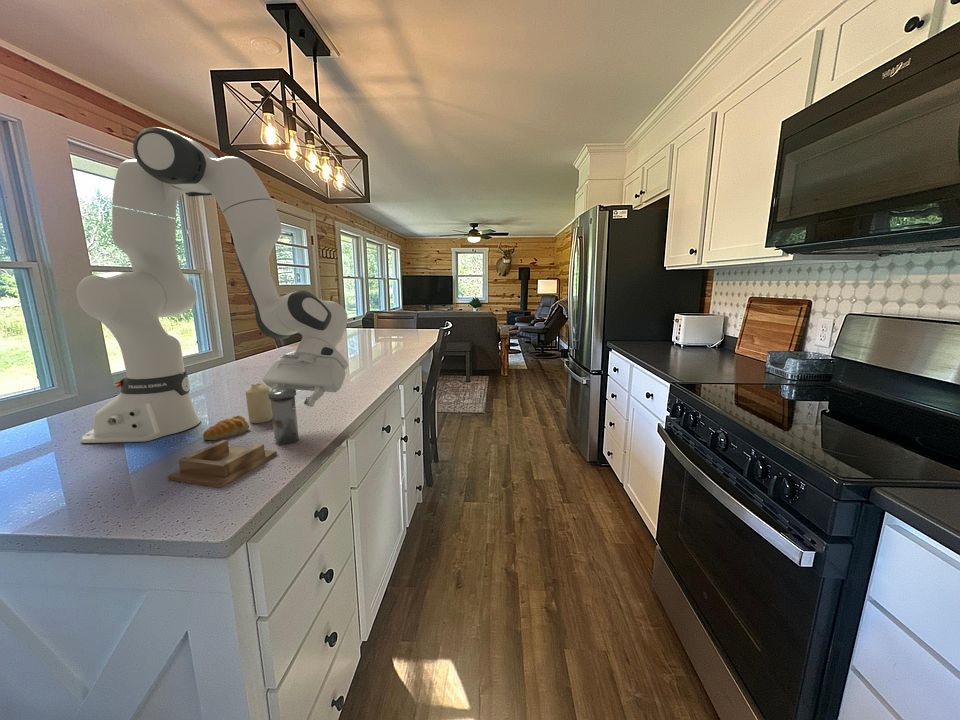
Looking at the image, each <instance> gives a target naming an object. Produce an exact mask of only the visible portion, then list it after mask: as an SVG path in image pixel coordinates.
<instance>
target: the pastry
mask: <svg viewBox="0 0 960 720" xmlns="http://www.w3.org/2000/svg"><path fill="white" fill-rule="evenodd" d="M249 429H250V425H249V423H248V421H246V419H245V417H244V416H242V415H237V416H232V417H231V418H226V419H222V420H219V421H218V422H217V423H216V424H214V425H212V426H210V427H209V428H207V429H206V430H205V431H204V432H203V434H202V435H203V436H202V438H203V440H206V441H207V440H208V441H219V440H223V439H228V438H231V436H232V437H234V436H237V435H241V434H243V433H246V432H247V431H249ZM227 437H228V438H227ZM222 438H223V439H222ZM218 439H219V440H218Z"/></svg>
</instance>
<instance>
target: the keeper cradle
mask: <svg viewBox="0 0 960 720" xmlns="http://www.w3.org/2000/svg"><path fill="white" fill-rule="evenodd" d="M277 455H278V451H277V450H270V449H265V444H263V443H258V444H255V445H254V446H253V447H243V446H235V445H230V446H229V440H227V439H221V440H220V441H217V442H215V443H213V444H211V445H209V446H206V447H204V448H202V449H200V450H198V451H195V452H193V453H190V454H189V455H187V456H184V457H182V458H180V459H178V467H179V470H178V471H175V472H173V473H172V474H169V475H167V480H168V479H169V480H168V481H172V480H175V481H174V482H178V481H182V482H181V483H185V482H187V483H186V484H193V485H199V484H200V485H201V486H206V487H207V486H208V487H214V488H220V489H221V488H222V487H224V486H226V485H227V484H229V483H230V482H233V481H234V480H236V479H238V478H239V477H241V476H243V475H245V474H247V473H248V472H250V471H252V470H253V469H255V468H257V467H258V466H260V465H262V464H263V463H265V462H267V461H269V460H270V459H272V458H273V457H275V456H277ZM200 485H199V486H200Z"/></svg>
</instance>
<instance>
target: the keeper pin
mask: <svg viewBox="0 0 960 720" xmlns="http://www.w3.org/2000/svg"><path fill="white" fill-rule="evenodd" d="M295 396H297V390H295V389H291V388H285V389H277V390H273V391H272V390H269V392H268V398H269V399H270V401H271V409H272V425H273V434H274V442H275V443H274V444H275V445H278V446H285V445H287V444H288V445H292V444H295V443H297V442H298V441H299V440H300V435H299V427H298V417H297V408H296V407H297V406H296V405H297V404H296V397H295ZM296 441H297V442H296ZM294 442H295V443H294ZM291 443H292V444H291Z"/></svg>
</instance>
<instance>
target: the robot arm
mask: <svg viewBox="0 0 960 720" xmlns="http://www.w3.org/2000/svg"><path fill="white" fill-rule="evenodd" d="M132 150H133V155H134V157H135V159H134V158H133V159H126V160H124V161H122V162H121V163H120V164H119V165H118V168H117V170H116V174H115V178H114V183H113V190H112V200H111V201H112V203H111V204H112V207H111V208H112V209H111V211H112V212H111V215H112V216H111V238H112V241H113V244H114V245H115V246H116V247H117V248H118V249H119V250H121V251H123V252H124V253H125V254H126V256H127V258H128V259H129V262H130V264H131V269H132V272H131V271H130V272H129V271H127V272H126V271H109V272H101V273H97V274H91V275H88V276H85V277H84V278H83V279H81V280H80V282H78V284H77V287H76V293H75V294H76V300H77V303H78V305H79V306H80V308H81V310H83V312H85V313H86V314H87V315H88V316H89V317H92V318H94V319H95V320H98V321H99V322H101V324H103V325H104V326H105V327H106V328H107V329H108V330H109V332H110V333H111V334H112V335H113V336H114V338H115V340H116V341H117V342H116V343H118V346H119V348H120V352H121V356H122V359H123V363H124V367H125V374H126V377H124V378H122V379H120V380H119V381H118V382H115V383H114V385H116V384H117V385H116V386H114V388H119V387H120V393H119V394H118V395H116V396H115V397H114V398H112V399H111V400H110V401H108V402H107V403H106V404H104V405H103V406H102V407H101V408H99V409H98V410H97V411H96V412H95V413H94V416H93V422H92V423H93V425H92V429H91V430H89V431H87V432H86V433H85V434H84V435H82V436H81V443H82V444H91V443H92V444H93V443H94V444H95V443H96V444H98V443H99V444H101V443H102V444H103V443H133V442H134V443H135V442H139V443H140V442H141V443H142V442H150V441H153V440H156V439H158V438H162V437H166V436H169V435H174V434H177V433H180V432H183V431H187V430H189V429H192V428H194V427H196V426H197V425H199V424H200V423H201V419H200V418H199V416H198V414H197V412H196V409H195V406H194V404H193V401H192V398H191V395H190V380H189V377H188V371H187V370H185V365H184V359H183V352H182V348H181V347H182V346H181V343H180V341H179V340H178V339H177V338H176V337H175V336H172V335H170V334H168V332H167V331H166V330H165V329H164V328H163V326H162V325H163V324H161V321H160V319H159V318H168V317H174V316H178V315H180V314H183V313H186V312H188V311H190V310H192V308H194V306H195V304H196V302H197V292H196V288H195V287H194V285H193V283H191V282H190V281H189V280H188V279H187V278H186V276H185V274H183V271H182V268H181V267H180V266H181V265H180V262H179V259H178V255H177V249H176V248H177V246H176V245H177V243H176V242H177V241H176V240H177V239H176V238H177V235H176V233H177V232H176V231H177V230H176V229H177V205H178V201H179V198H180V197H181V196H183V195H184V194H185V195H186V196H188V197H192V198H193V197H202V196H203V197H204V196H213V198H214V199H215V201H216V202H217V204H218V206H219V208H220V210H221V212H222V214H223V216H224V219H225V222H226V224H227V226H228V228H229V231H230V234H231V237H232V240H233V244H234V251H235V255H236V256H235V257H236V260H237V263H238V265H239V269H240V272H241V273H242V277H243V279H244V281H245V284H246V286H247V289H248V291H249V294H250V298H251V299H252V302H253V306H254V311H255V312H254V313H255V322H256V325H257V327H258V328H259V330H260V331H261V332H262V333H263V334H264V335H265V336H267V337H269V338H271V339H273V340H286V339H287V338H290V337H292V336H293V335H295V334H297V333H299V334H300V335H301V336H302V337H301V340H300V342H299V344H298V345H297V348H296V349H295V352H294V354H291V355H290V354H283V355H282V356H281V355H280V356H279V357H276V359H275V360H274V361H273V362H272V363H271V364H270V366H269V367H268V369H267V370H266V372H264V375H263V376H262V382H263V384H264V385H265V386H267V387H268V388H269V389H271V391H273V390H277V389H285V388H291V389H295V390H296V391H311V392H313V393H312V394H310V396H306V397H305V400H304V406H306V407H314V406H315V403H316V402H317V401H318V400H319V399H320V398H321V397H323V396H324V394H325V393H337V392H338V391H340V390H341V388H342V386H343V384H344V381H345V379H346V374H347V373H346V370H347V368H348V366H349V363H348V361H347V360H346V358H345V357H344V356H343V355H342V354H341V353H340V351H339V350H338V349H337V346H338V344H339V343H340V342H341V341H342V338H343V336H344V334H345V331H346V329H347V325H348V319H349V318H348V313H347V311H346V309H345V308H344V307H343V306H342V305H341V304H340V303H338V302H336V301H333V300H324V299H321V298H318V297H317V296H316V295H315V294H313V293H312V292H310V291H308V290H304V289H299V290H294V291H293V292H290V293H288V294H285V295H283V296H281V297H280V295H279V293H278V290H277V287H276V284H275V282H274V280H273V277H272V274H271V271H270V266H269V263H270V262H269V260H270V255H271V253H272V251H273V249H274V247H275V245H276V244H277V242H278V240H279V238H280V236H281V233H282V222H281V219H280V216H279V213H278V211H277V208H276V206H275V204H274V202H273V200H272V198H271V196H270V194H269V192H268V190H267V189H266V187H265V185H264V183H263V181H262V180H261V178H260V177H259V175H258V173H257V172H256V171H255V169H254V168H253V166H252V165H251V164H250V163H249V162H247V161H246V160H245V159H242V158H240V157H237V156H223V157H220V156H219V155H218V154H217V153H216V152H214V151H213V150H210V149H209V148H208V147H206V146H204V145H203V144H202V143H200V142H198V141H196V140H194V139H191V138H188V137H186V136H184V135H181V134H180V133H178V132H176V131H175V130H171V129H167V128H163V127H158V126H157V127H156V126H155V127H154V126H153V127H147V128H144V129H142V130H141V131H138V133H137V134H136V136H135V137H134V140H133V144H132ZM270 402H271V401H270Z"/></svg>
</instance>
